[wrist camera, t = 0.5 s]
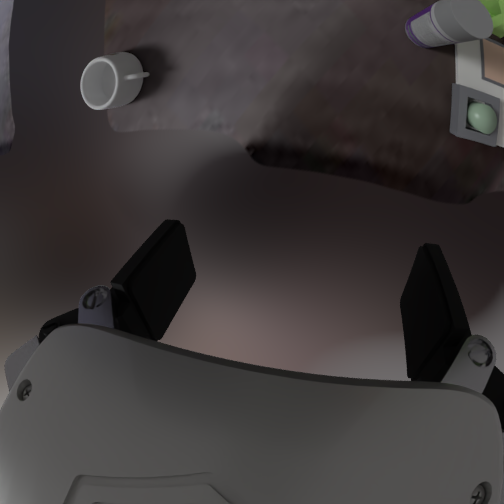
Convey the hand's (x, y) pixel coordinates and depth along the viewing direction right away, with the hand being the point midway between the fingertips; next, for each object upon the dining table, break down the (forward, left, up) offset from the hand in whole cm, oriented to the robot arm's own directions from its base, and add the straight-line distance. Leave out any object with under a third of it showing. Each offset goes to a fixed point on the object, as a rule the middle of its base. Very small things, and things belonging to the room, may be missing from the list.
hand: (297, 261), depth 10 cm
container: (-15, +14, -29) cm, 35 cm away
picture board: (-9, +25, -29) cm, 39 cm away
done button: (-5, +22, -27) cm, 35 cm away
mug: (-11, -29, -29) cm, 43 cm away
